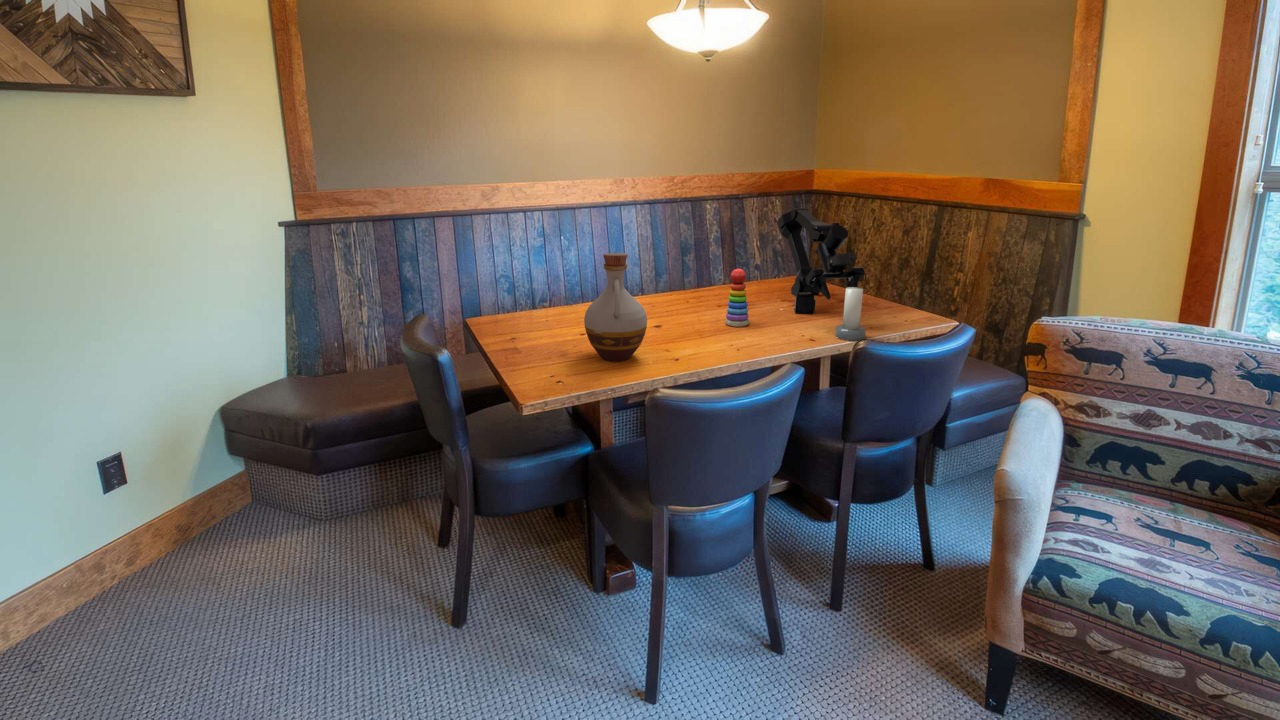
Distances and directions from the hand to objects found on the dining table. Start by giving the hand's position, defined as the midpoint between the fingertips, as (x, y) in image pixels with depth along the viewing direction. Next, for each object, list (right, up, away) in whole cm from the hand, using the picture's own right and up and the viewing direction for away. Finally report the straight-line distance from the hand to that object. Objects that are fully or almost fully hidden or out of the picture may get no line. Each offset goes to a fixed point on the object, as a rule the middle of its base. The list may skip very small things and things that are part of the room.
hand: (842, 298), depth 232 cm
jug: (-72, -20, -25) cm, 78 cm away
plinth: (+2, -13, -3) cm, 13 cm away
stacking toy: (-32, -8, +11) cm, 35 cm away
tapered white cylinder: (+2, -10, -4) cm, 10 cm away
